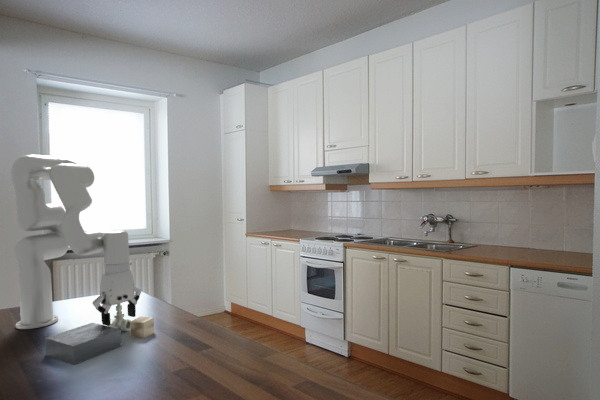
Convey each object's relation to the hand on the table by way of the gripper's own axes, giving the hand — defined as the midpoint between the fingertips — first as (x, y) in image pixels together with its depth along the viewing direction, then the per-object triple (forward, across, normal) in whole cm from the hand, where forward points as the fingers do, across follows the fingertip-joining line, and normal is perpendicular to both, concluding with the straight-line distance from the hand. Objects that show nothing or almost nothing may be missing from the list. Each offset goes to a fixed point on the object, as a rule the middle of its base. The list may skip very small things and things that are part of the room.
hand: (119, 320), depth 129 cm
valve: (+4, 0, 0) cm, 4 cm away
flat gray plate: (+4, +15, +5) cm, 16 cm away
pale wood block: (+4, -1, +10) cm, 11 cm away
